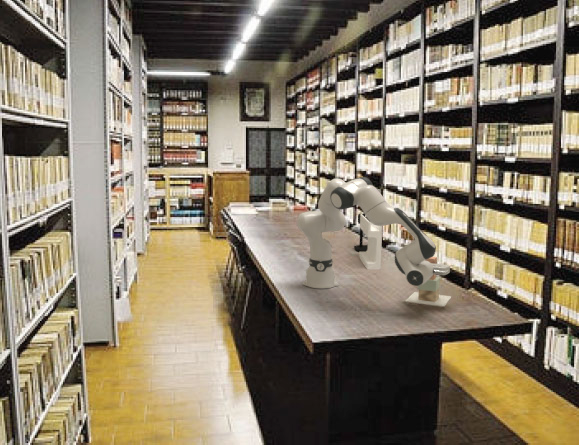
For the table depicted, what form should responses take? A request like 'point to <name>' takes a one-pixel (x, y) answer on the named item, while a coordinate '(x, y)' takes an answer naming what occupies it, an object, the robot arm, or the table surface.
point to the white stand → (371, 244)
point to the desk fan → (361, 238)
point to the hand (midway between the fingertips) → (430, 264)
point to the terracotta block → (434, 261)
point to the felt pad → (440, 301)
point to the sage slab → (431, 285)
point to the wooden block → (428, 295)
